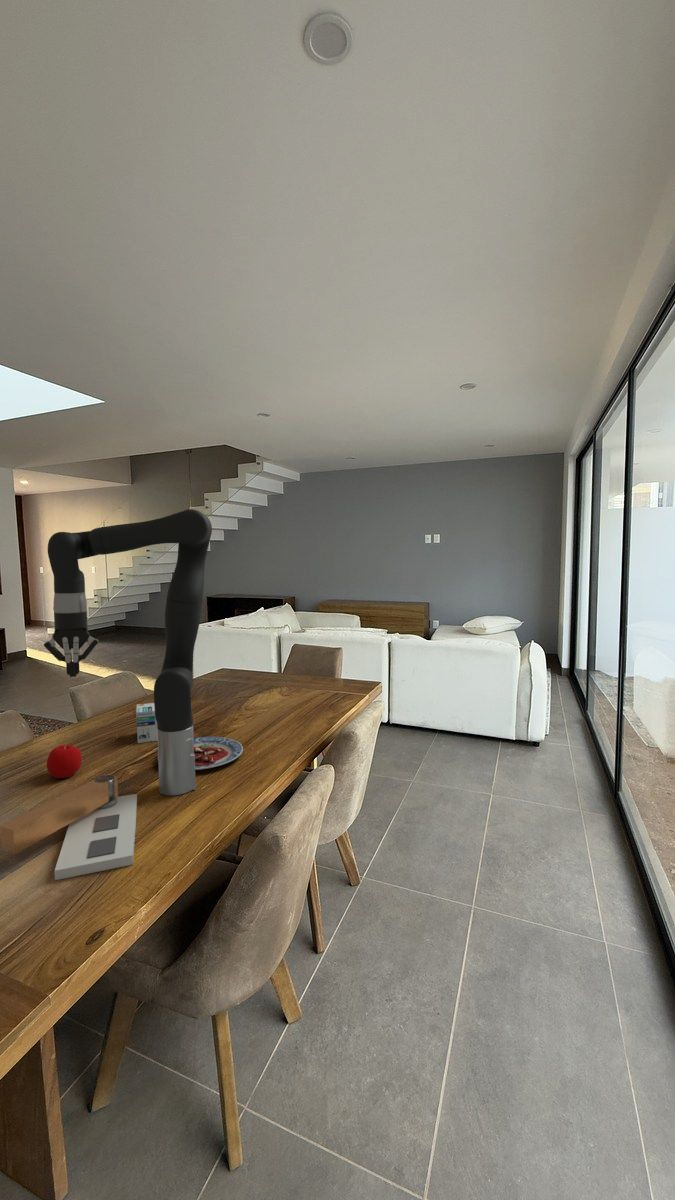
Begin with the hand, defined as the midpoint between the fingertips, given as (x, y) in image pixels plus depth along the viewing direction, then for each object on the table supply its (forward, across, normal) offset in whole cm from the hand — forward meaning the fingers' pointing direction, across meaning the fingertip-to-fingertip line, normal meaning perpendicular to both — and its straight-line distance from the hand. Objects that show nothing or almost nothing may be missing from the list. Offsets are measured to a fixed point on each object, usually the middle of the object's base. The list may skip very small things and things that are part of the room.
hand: (73, 676), depth 128 cm
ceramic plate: (+32, -33, -12) cm, 48 cm away
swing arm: (+28, 0, +21) cm, 35 cm away
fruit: (+32, +5, -14) cm, 35 cm away
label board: (+32, -8, +24) cm, 41 cm away
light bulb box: (+32, -17, -38) cm, 52 cm away
